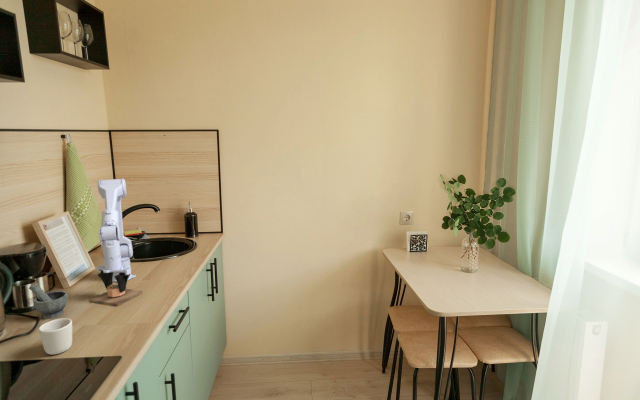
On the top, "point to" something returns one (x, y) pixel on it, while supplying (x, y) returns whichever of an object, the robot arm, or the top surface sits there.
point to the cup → (56, 335)
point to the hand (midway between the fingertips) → (116, 290)
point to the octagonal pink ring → (114, 291)
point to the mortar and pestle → (49, 302)
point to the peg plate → (118, 299)
